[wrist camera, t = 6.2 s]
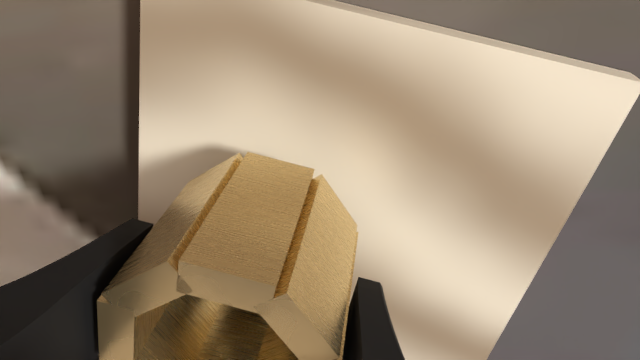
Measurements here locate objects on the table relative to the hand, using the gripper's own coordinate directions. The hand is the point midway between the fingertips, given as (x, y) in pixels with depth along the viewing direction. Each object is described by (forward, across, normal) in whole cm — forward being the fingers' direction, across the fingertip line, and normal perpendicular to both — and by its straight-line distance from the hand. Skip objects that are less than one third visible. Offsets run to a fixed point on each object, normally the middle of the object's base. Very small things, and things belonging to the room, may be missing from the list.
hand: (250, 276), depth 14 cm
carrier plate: (+4, -2, +3) cm, 6 cm away
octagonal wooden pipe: (+2, 0, 0) cm, 2 cm away
